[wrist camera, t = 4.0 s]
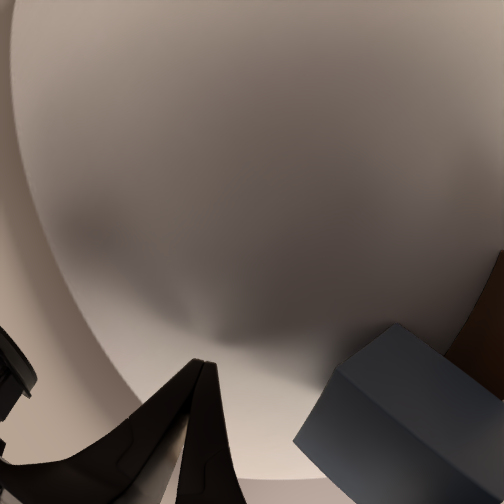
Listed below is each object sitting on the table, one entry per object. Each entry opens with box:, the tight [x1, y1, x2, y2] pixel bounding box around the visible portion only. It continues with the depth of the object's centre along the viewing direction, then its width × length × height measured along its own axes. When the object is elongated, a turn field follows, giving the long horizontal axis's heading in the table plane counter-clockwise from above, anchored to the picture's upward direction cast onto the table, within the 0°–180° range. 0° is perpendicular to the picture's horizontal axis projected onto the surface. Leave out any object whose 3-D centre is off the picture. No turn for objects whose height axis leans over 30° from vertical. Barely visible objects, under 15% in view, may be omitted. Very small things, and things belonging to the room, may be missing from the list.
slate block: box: [293, 323, 504, 504], centre depth 6 cm, size 7×5×8 cm
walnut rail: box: [444, 250, 504, 403], centre depth 8 cm, size 2×12×4 cm, turn 173°
